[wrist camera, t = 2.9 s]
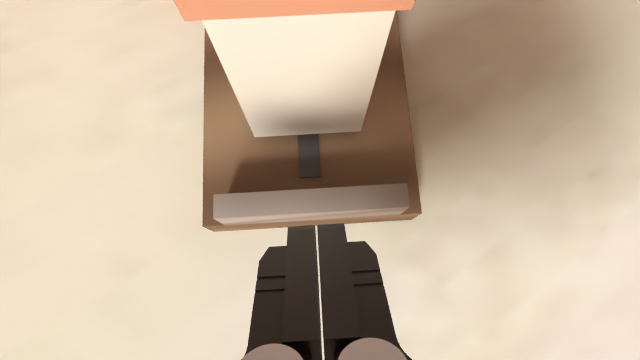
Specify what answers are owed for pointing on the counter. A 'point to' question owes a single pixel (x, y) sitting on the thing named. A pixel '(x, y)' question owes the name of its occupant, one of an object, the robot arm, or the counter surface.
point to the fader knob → (299, 58)
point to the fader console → (309, 160)
